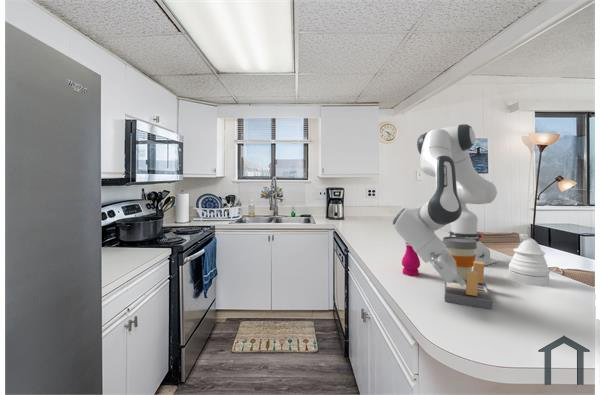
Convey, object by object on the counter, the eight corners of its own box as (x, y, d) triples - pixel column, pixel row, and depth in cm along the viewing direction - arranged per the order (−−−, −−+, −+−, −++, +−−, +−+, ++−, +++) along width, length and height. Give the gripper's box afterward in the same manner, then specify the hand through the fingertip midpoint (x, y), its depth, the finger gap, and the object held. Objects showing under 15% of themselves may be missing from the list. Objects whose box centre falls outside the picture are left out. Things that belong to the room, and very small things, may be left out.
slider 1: (466, 294, 97) (467, 272, 96) (465, 291, 99) (466, 270, 99) (477, 296, 95) (478, 274, 95) (476, 292, 98) (477, 271, 98)
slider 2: (473, 282, 108) (474, 263, 108) (472, 280, 111) (473, 260, 110) (483, 283, 107) (484, 264, 106) (482, 281, 110) (483, 262, 109)
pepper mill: (417, 271, 130) (418, 224, 129) (422, 276, 123) (423, 227, 122) (399, 270, 131) (401, 224, 130) (403, 276, 124) (405, 227, 123)
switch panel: (444, 301, 98) (445, 293, 98) (444, 282, 116) (445, 275, 116) (492, 309, 93) (492, 300, 92) (484, 288, 111) (484, 281, 110)
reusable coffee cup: (480, 281, 118) (482, 243, 117) (445, 279, 120) (446, 241, 119) (469, 272, 130) (470, 237, 129) (437, 270, 133) (438, 235, 132)
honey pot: (510, 282, 118) (512, 236, 117) (506, 273, 129) (508, 231, 128) (552, 288, 112) (555, 239, 111) (544, 278, 123) (546, 233, 122)
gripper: (439, 250, 91) (475, 288, 88) (440, 239, 110) (470, 269, 106) (422, 263, 94) (456, 300, 90) (426, 249, 112) (455, 280, 108)
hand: (464, 283), depth 98 cm, fingers closed, pressing on slider 1
